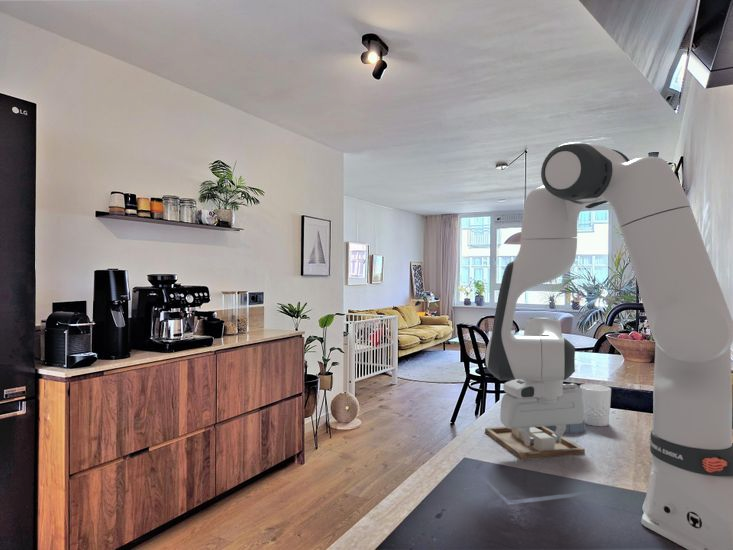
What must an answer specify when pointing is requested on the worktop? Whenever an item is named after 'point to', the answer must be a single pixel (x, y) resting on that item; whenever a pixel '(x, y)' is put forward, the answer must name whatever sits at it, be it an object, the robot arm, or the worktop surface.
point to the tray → (528, 452)
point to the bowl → (570, 428)
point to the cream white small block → (532, 432)
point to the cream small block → (517, 432)
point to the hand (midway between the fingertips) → (542, 443)
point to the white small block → (543, 442)
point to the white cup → (596, 404)
